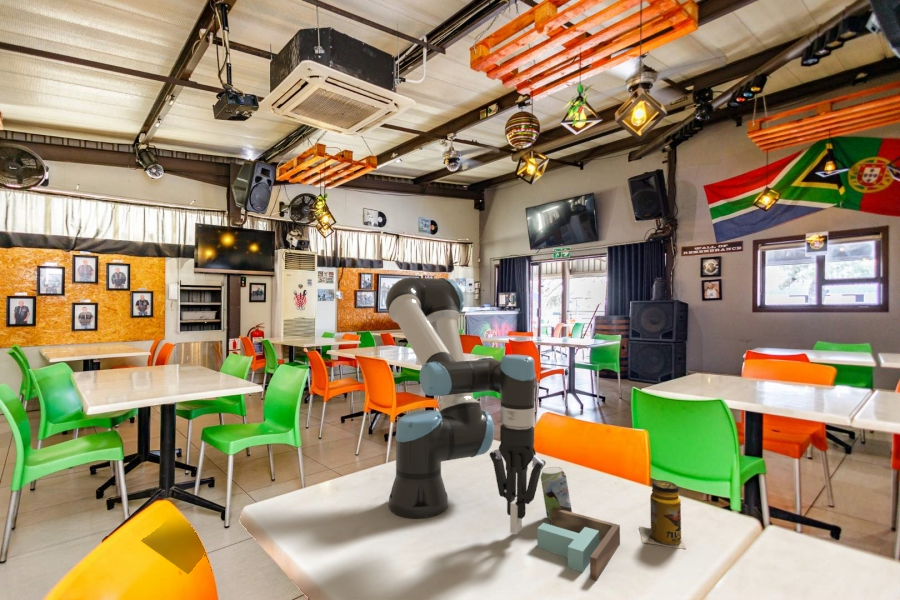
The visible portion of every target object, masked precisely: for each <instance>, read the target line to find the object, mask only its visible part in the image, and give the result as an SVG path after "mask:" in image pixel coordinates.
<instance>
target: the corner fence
mask: <svg viewBox="0 0 900 600" xmlns="http://www.w3.org/2000/svg"><path fill="white" fill-rule="evenodd" d="M551 525H552V526H556V527H559V528H563V529H566V530H569V531H573V532H576V533H580V532H581V531H582V530H583V528H584V527H587V528H591V529H594V530H598V531H599V545H598V546H597V548H596V549H595V551H594V552H593V553H592V555H591V556H590V563H589V577H590V578H589V579H591V580H594V581H596V582H597V581H598V579H599V578H600V576H601V574H602V573H603V572H604V570H605V568H606V566H607V565H608V564H609V562H610V560H611V559H612V557H613V555H614V554H615V552H616V551H617V550H618V548H619V547H620V545H621V525H620V524H617V523H614V522H610V521H606V520H601V519H598V518H594V517H591V516H587V515H584V514H579V513H575V512H569V511H565V510H561V509H557V508H553V509H552V521H551Z"/></svg>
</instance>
